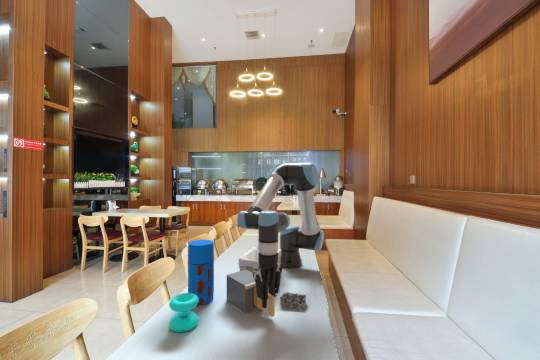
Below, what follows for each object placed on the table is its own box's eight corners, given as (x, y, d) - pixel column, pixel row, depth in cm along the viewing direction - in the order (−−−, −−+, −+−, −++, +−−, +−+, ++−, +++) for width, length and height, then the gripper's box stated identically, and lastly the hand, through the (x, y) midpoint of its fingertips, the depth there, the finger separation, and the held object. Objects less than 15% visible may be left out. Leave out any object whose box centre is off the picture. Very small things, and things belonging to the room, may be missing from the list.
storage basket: (268, 293, 116) (268, 261, 116) (236, 288, 121) (236, 258, 121) (282, 274, 139) (282, 247, 139) (254, 271, 144) (254, 245, 144)
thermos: (191, 294, 115) (191, 239, 115) (215, 293, 116) (215, 239, 116) (185, 306, 104) (185, 246, 104) (211, 305, 105) (211, 245, 105)
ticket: (238, 295, 110) (238, 279, 109) (241, 294, 110) (241, 278, 110) (272, 316, 93) (272, 297, 93) (274, 315, 94) (274, 296, 94)
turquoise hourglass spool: (170, 293, 94) (198, 290, 97) (170, 320, 94) (198, 316, 97) (167, 306, 85) (198, 302, 87) (167, 336, 85) (198, 331, 87)
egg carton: (278, 306, 105) (278, 297, 105) (283, 298, 112) (283, 289, 112) (303, 311, 101) (303, 301, 101) (307, 302, 108) (307, 292, 108)
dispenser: (226, 300, 109) (226, 274, 109) (245, 293, 115) (245, 269, 115) (246, 315, 98) (246, 286, 97) (266, 306, 104) (266, 279, 104)
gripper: (275, 246, 103) (275, 304, 103) (247, 253, 94) (247, 317, 94) (288, 250, 97) (288, 312, 97) (259, 258, 88) (259, 326, 88)
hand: (268, 314), depth 95 cm, fingers closed on ticket
